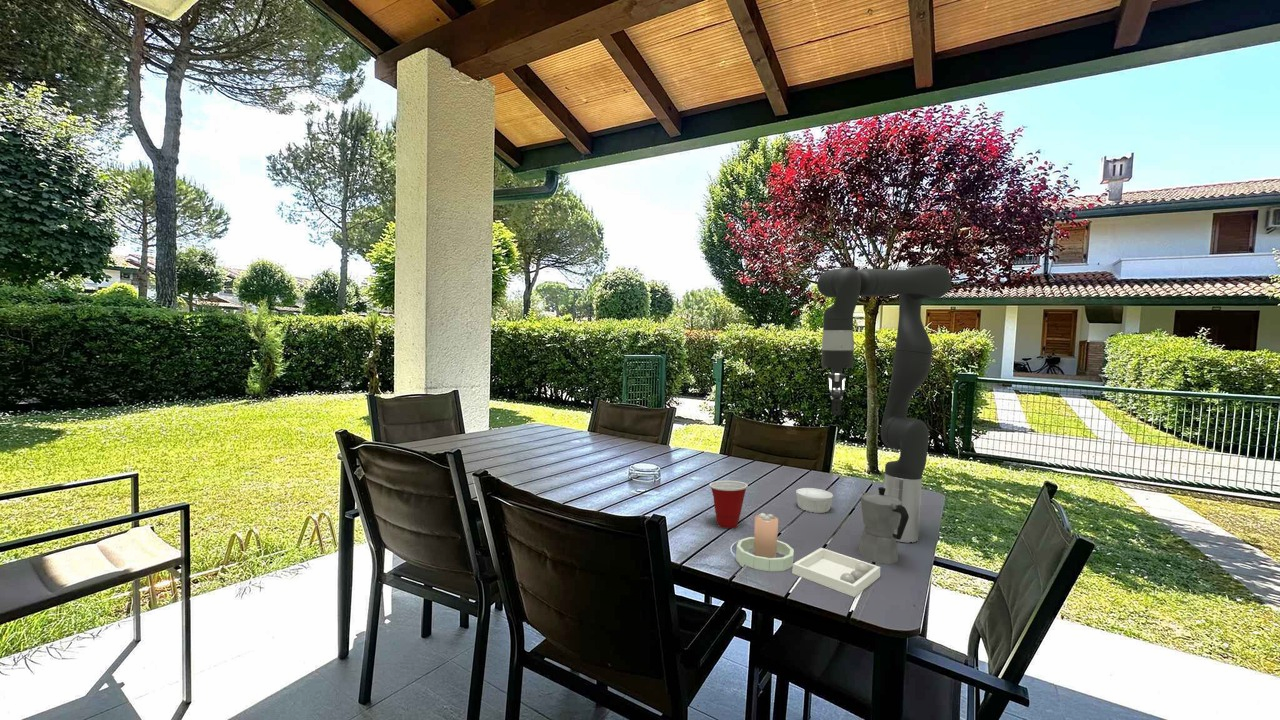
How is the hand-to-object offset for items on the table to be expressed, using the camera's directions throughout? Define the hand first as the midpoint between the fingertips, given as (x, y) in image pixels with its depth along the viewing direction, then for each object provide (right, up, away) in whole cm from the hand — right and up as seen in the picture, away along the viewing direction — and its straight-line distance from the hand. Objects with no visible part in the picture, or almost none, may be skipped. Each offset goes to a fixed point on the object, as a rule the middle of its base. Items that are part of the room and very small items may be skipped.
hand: (836, 412), depth 132 cm
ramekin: (+6, -35, +34) cm, 49 cm away
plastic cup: (-25, -34, +17) cm, 45 cm away
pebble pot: (-20, -34, -7) cm, 40 cm away
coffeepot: (+9, -36, -4) cm, 38 cm away
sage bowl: (-20, -35, -7) cm, 41 cm away
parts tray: (-6, -36, -15) cm, 39 cm away
